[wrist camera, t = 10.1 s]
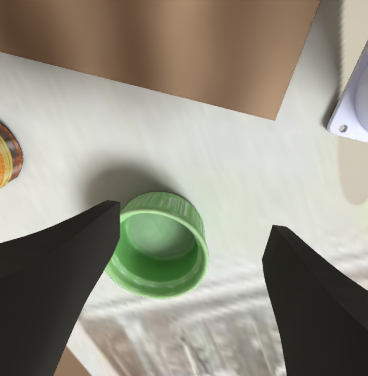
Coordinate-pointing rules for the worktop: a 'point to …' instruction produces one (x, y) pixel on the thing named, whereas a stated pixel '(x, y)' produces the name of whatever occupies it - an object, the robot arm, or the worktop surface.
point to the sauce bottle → (9, 157)
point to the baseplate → (169, 44)
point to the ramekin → (159, 247)
